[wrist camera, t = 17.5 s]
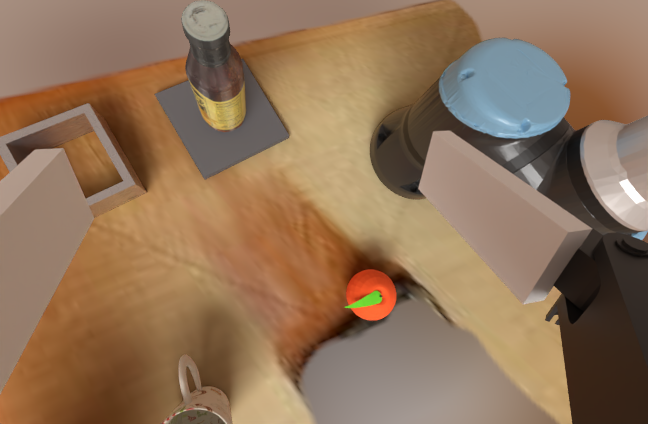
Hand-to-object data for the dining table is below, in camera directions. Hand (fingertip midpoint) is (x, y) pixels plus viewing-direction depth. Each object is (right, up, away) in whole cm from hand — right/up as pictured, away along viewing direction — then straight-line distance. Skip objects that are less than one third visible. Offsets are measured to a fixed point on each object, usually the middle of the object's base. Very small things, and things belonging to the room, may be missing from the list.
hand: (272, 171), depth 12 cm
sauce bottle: (-13, +13, +36) cm, 40 cm away
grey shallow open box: (-30, +4, +31) cm, 43 cm away
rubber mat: (-13, +13, +36) cm, 41 cm away
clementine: (+7, -14, +36) cm, 40 cm away
